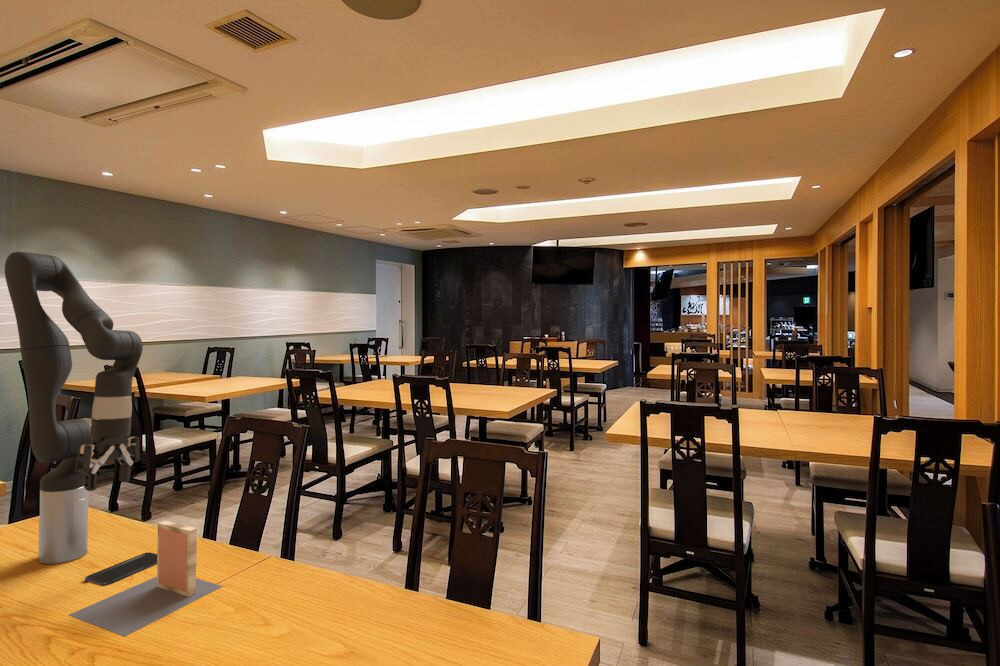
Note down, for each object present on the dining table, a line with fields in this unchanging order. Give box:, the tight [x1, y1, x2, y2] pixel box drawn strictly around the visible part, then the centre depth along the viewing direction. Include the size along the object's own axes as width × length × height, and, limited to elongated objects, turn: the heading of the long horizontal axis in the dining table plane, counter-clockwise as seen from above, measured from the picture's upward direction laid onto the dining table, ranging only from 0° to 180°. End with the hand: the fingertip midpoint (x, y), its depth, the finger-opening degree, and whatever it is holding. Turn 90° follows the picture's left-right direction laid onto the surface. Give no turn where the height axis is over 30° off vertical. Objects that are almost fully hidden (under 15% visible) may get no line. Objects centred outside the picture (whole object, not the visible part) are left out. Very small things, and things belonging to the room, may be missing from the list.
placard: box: [156, 520, 198, 597], centre depth 116 cm, size 10×2×14 cm, turn 67°
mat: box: [68, 576, 224, 637], centre depth 112 cm, size 17×21×1 cm
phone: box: [84, 552, 157, 586], centre depth 125 cm, size 8×1×15 cm
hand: (107, 485), depth 125 cm, fingers open, 8 cm apart
